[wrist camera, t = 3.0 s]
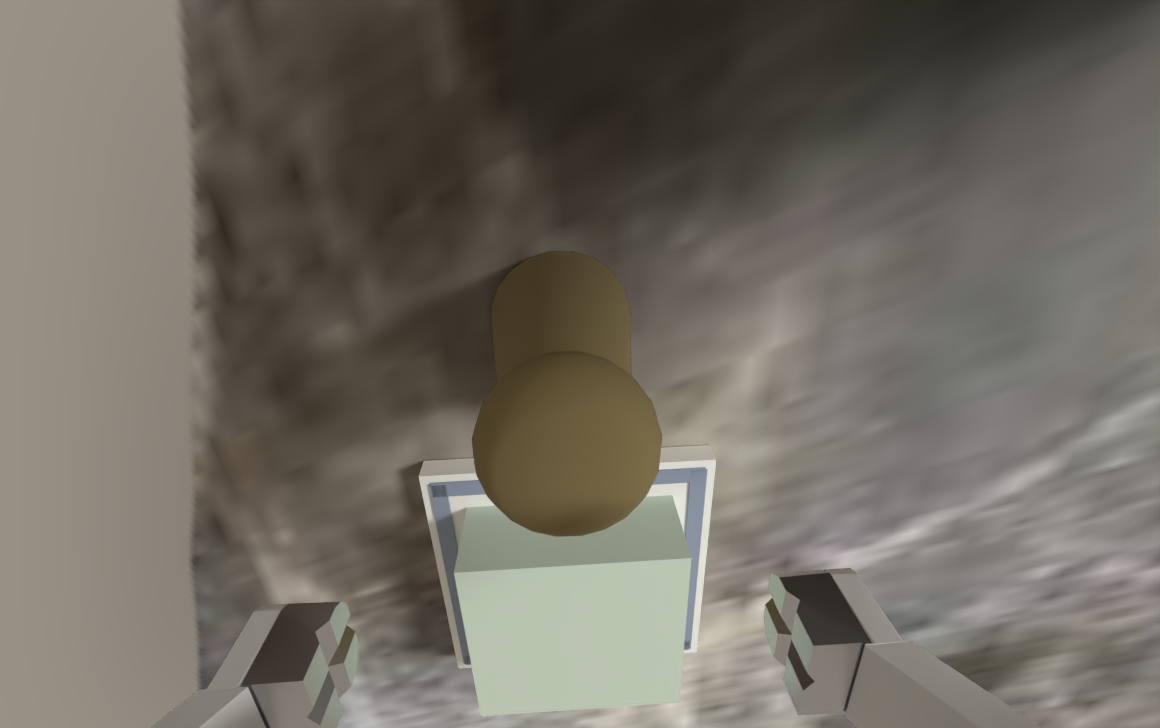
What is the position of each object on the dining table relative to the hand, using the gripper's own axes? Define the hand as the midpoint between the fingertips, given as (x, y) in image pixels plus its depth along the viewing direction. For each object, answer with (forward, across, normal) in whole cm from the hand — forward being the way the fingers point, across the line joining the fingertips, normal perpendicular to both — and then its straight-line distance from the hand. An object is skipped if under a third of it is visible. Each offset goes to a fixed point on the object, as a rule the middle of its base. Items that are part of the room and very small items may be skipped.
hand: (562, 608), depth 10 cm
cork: (+15, 0, -1) cm, 15 cm away
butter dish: (+15, 0, +13) cm, 20 cm away
